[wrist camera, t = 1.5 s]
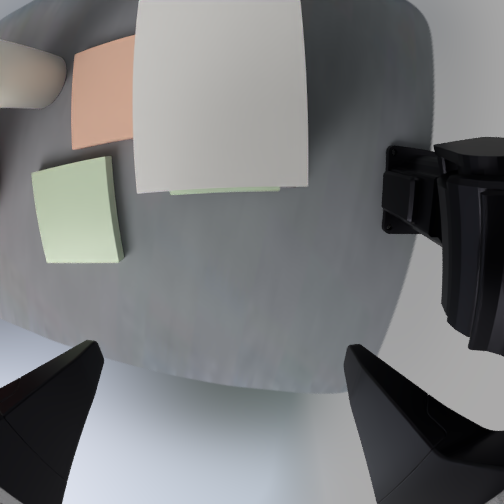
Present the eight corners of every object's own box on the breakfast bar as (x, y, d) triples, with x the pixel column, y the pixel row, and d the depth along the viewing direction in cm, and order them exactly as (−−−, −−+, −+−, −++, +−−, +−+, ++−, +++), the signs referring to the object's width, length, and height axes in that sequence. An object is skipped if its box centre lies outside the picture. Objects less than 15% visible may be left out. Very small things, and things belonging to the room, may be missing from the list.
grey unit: (288, 24, 14) (306, -37, 7) (293, 185, 19) (319, 211, 11) (174, 31, 15) (133, -21, 7) (177, 189, 19) (129, 217, 11)
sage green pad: (111, 155, 18) (104, 156, 17) (124, 257, 21) (119, 262, 20) (38, 171, 18) (31, 173, 17) (53, 258, 21) (47, 262, 20)
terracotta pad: (174, 31, 15) (170, 26, 14) (173, 132, 17) (169, 132, 16) (81, 57, 15) (74, 54, 14) (79, 149, 17) (72, 149, 17)
